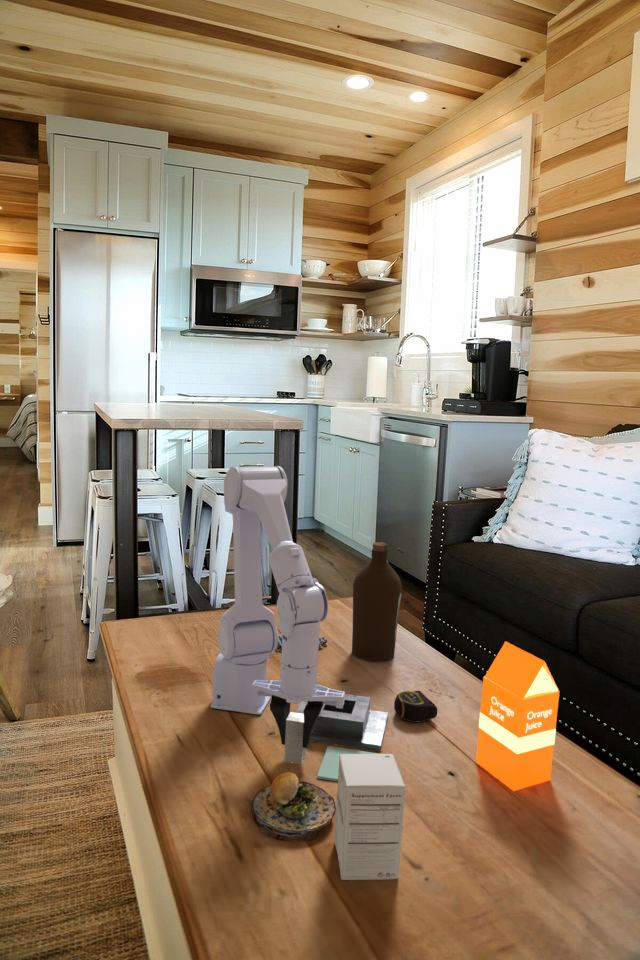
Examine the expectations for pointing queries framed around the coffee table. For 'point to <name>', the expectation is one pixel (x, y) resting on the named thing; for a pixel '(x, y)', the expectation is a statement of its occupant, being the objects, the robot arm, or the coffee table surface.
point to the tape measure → (414, 706)
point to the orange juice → (517, 719)
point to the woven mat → (321, 643)
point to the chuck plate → (356, 743)
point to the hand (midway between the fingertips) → (295, 743)
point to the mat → (334, 762)
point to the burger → (291, 809)
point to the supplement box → (369, 816)
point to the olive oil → (376, 608)
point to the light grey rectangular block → (294, 738)
